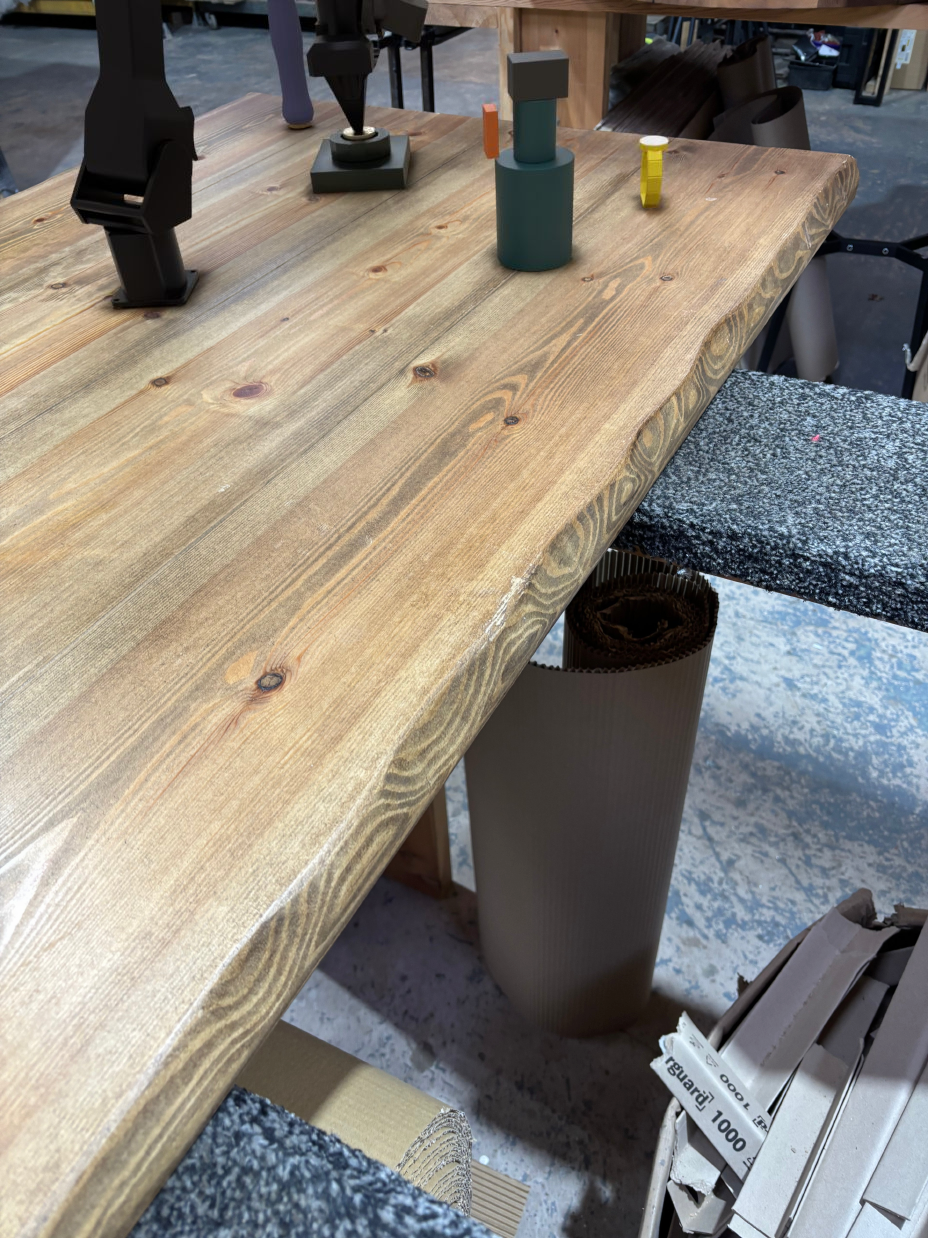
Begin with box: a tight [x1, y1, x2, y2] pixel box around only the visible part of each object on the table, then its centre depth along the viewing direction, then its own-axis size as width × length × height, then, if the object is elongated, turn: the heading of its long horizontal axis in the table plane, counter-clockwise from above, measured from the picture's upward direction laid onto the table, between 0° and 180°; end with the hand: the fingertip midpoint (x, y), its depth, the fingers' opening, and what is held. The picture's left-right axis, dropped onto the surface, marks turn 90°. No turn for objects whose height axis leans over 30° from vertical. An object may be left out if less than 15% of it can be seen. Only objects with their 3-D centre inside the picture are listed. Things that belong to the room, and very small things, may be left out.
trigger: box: [481, 102, 500, 160], centre depth 78 cm, size 1×2×4 cm, turn 6°
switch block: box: [309, 125, 411, 195], centre depth 103 cm, size 12×10×4 cm
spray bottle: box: [494, 48, 576, 272], centre depth 80 cm, size 7×7×16 cm
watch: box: [638, 135, 670, 209], centre depth 91 cm, size 6×3×6 cm, turn 178°
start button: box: [343, 125, 376, 141], centre depth 102 cm, size 4×4×2 cm
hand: (358, 130), depth 102 cm, fingers closed, pressing on start button
